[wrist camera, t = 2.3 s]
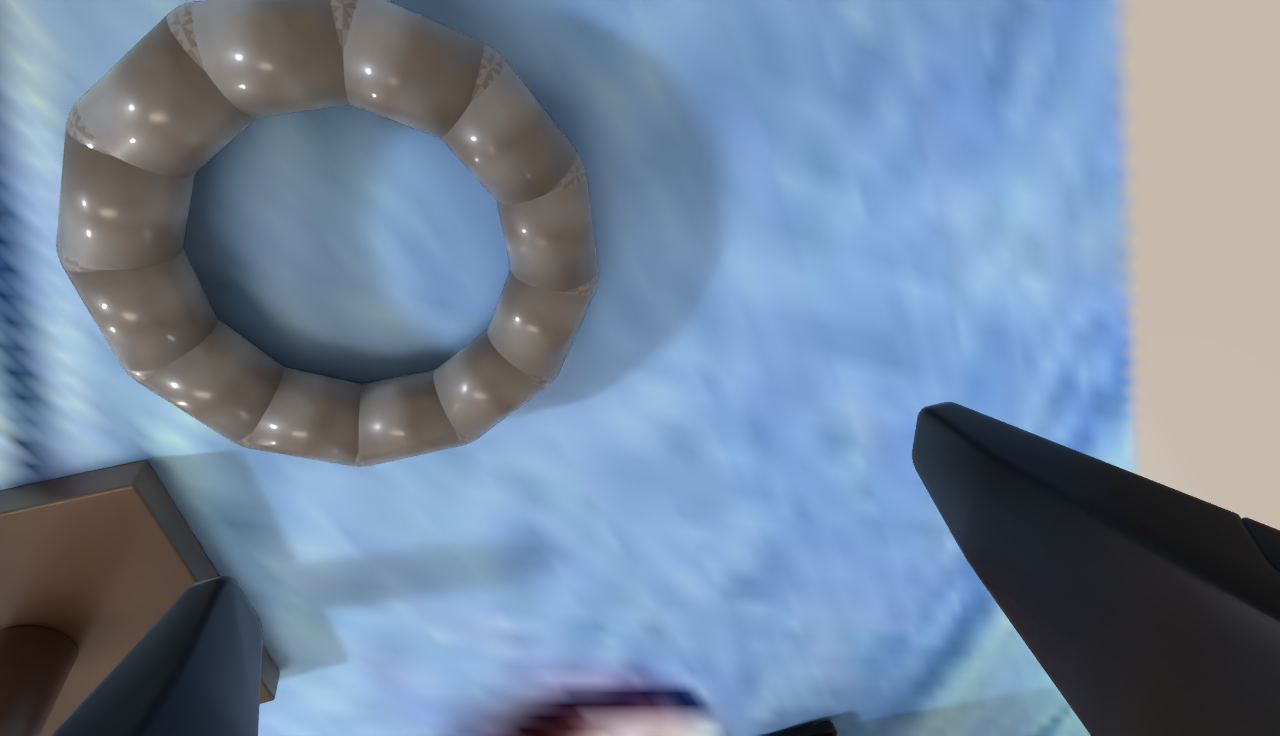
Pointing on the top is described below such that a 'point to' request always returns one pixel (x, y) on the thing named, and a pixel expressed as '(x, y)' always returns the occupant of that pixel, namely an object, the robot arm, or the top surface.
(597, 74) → the top surface
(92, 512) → the tape stand
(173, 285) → the grey-brown segmented ring
